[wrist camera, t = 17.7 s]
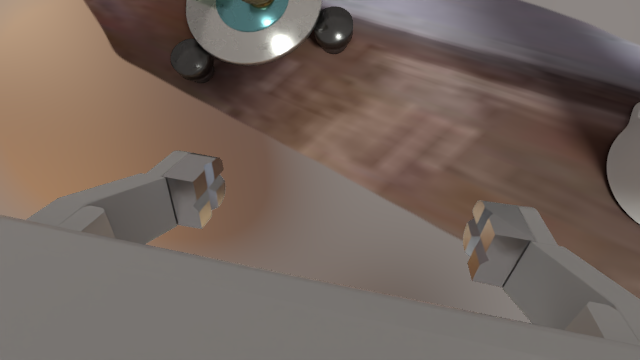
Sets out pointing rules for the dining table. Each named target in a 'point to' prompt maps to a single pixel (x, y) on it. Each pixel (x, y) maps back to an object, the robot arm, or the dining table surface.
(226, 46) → the leveling base
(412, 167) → the dining table surface
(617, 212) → the dining table surface
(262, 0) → the cup
